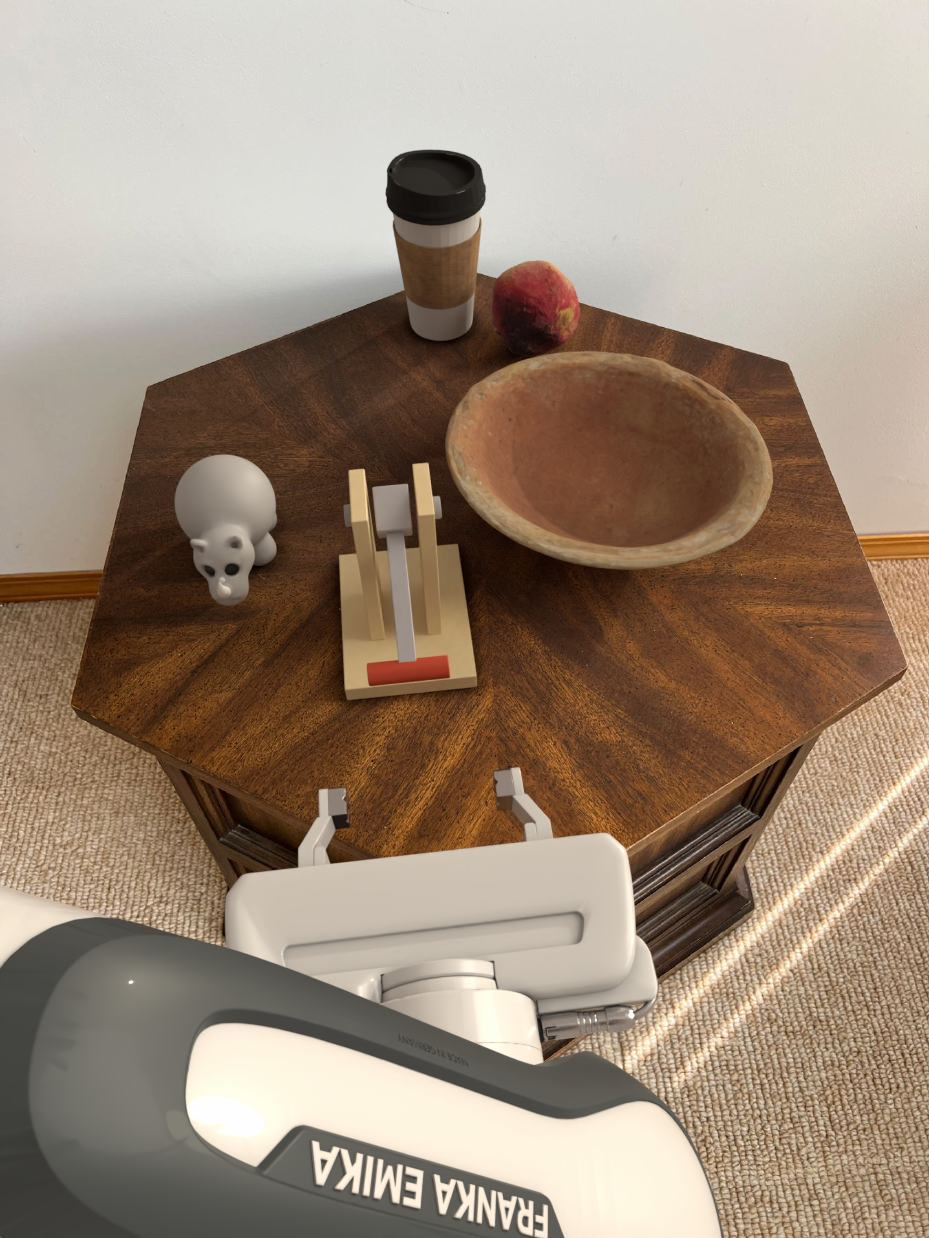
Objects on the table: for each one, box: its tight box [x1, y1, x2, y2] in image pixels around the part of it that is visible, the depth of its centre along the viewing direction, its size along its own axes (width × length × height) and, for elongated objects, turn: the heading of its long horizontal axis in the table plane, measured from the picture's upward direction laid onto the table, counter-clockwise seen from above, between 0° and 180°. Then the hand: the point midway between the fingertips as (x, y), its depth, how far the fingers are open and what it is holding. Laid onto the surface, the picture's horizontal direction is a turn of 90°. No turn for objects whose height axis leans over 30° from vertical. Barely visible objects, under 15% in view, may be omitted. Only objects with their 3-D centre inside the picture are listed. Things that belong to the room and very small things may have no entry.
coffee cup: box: [384, 149, 487, 342], centre depth 83 cm, size 8×8×15 cm
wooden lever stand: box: [338, 462, 478, 701], centre depth 63 cm, size 12×9×14 cm
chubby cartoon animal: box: [174, 454, 278, 607], centre depth 68 cm, size 7×12×8 cm, turn 5°
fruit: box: [491, 259, 581, 357], centre depth 84 cm, size 8×8×8 cm
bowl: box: [444, 350, 774, 571], centre depth 71 cm, size 24×24×8 cm
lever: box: [367, 483, 450, 686], centre depth 58 cm, size 12×5×2 cm, turn 7°
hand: (420, 782), depth 51 cm, fingers open, 8 cm apart
